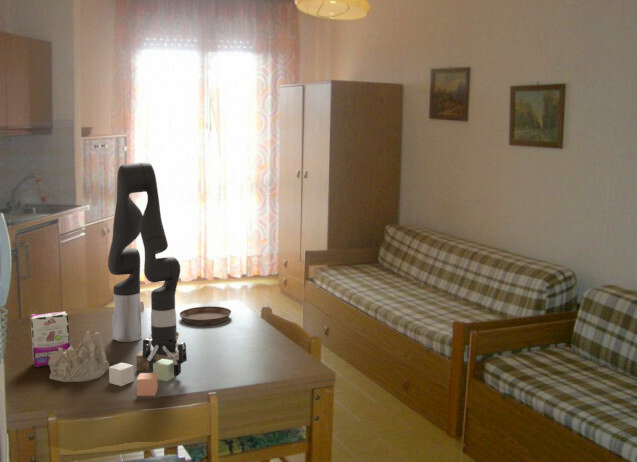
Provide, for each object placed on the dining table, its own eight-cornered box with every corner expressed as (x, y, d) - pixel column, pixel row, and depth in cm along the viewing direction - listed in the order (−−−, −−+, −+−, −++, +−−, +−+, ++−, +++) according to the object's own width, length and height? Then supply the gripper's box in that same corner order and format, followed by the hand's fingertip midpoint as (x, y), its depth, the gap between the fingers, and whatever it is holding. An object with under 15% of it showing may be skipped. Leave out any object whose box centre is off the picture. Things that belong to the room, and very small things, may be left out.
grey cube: (109, 383, 199) (108, 367, 198) (122, 377, 203) (121, 362, 202) (121, 386, 196) (120, 370, 196) (133, 381, 201) (133, 365, 200)
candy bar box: (69, 358, 220) (66, 310, 217) (71, 363, 215) (68, 314, 213) (32, 363, 215) (29, 314, 212) (33, 368, 210) (31, 318, 208)
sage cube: (153, 379, 202) (153, 363, 202) (162, 373, 207) (162, 358, 206) (167, 381, 201) (167, 365, 200) (176, 376, 205) (176, 360, 204)
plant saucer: (169, 319, 268) (169, 311, 268) (212, 310, 282) (212, 303, 282) (197, 330, 253) (197, 322, 253) (241, 320, 267) (241, 312, 267)
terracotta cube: (137, 396, 189) (136, 379, 189) (140, 389, 194) (139, 373, 193) (154, 395, 190) (154, 379, 189) (157, 389, 195) (157, 372, 194)
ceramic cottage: (117, 365, 213) (111, 320, 211) (89, 386, 198) (83, 338, 195) (73, 364, 217) (68, 320, 214) (43, 384, 201) (36, 337, 199)
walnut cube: (136, 370, 210) (136, 355, 209) (142, 365, 215) (141, 350, 214) (151, 371, 209) (151, 356, 208) (157, 365, 214) (156, 350, 213)
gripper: (136, 323, 200) (138, 374, 202) (177, 328, 195) (178, 380, 198) (151, 316, 207) (152, 366, 209) (190, 321, 202) (191, 372, 205)
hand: (164, 373), depth 204 cm, fingers open, 8 cm apart
